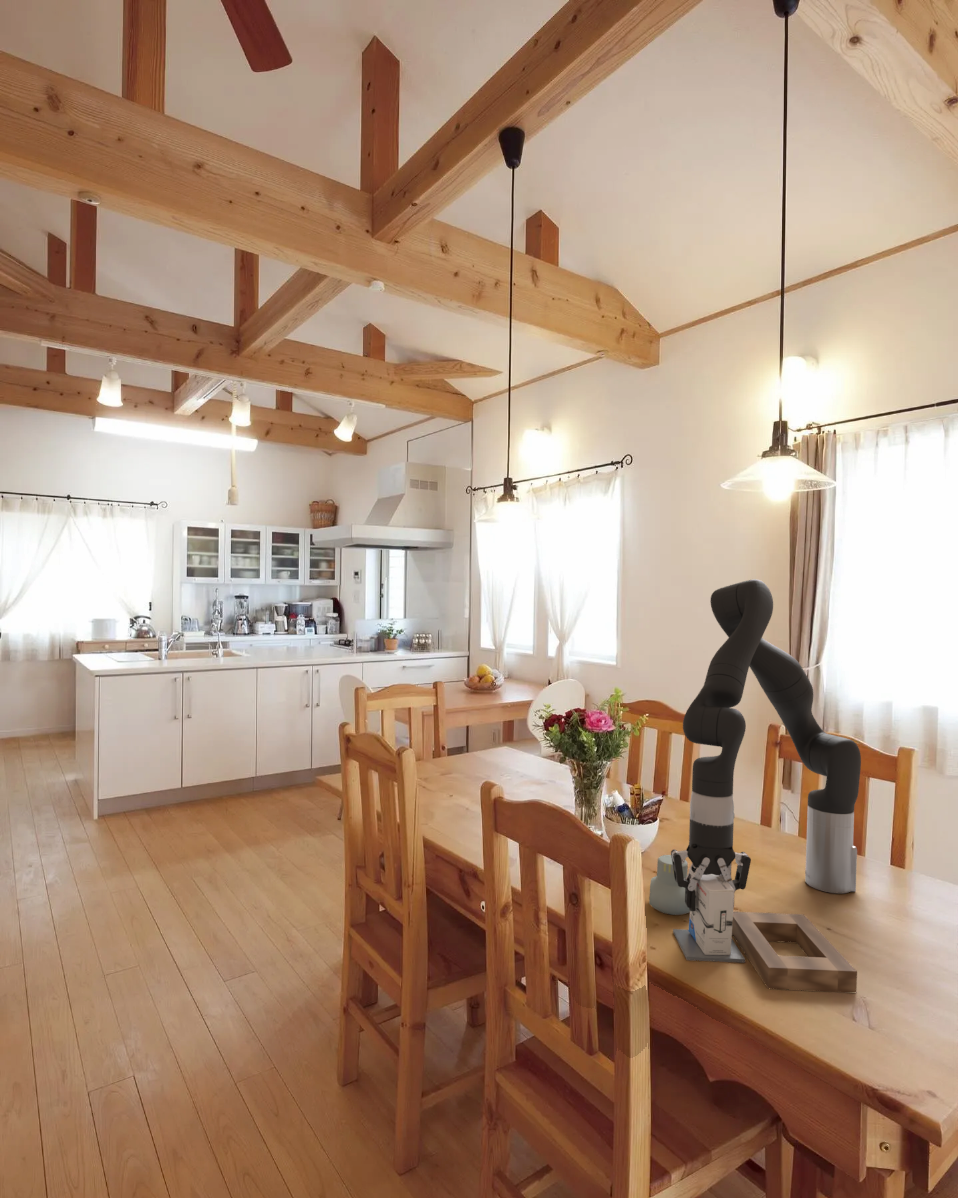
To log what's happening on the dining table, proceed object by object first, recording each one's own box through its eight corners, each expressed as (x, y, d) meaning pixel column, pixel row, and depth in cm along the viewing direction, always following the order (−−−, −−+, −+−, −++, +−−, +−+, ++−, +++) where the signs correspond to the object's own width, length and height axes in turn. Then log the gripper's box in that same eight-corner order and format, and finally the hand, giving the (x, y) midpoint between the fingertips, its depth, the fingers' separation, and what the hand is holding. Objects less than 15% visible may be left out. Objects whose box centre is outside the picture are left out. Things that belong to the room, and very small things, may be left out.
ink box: (687, 930, 131) (690, 868, 131) (713, 931, 131) (716, 869, 131) (704, 956, 123) (707, 889, 122) (732, 956, 123) (735, 890, 122)
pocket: (803, 932, 133) (804, 914, 133) (856, 993, 113) (857, 971, 113) (728, 929, 134) (729, 911, 134) (768, 989, 114) (768, 967, 114)
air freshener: (692, 924, 136) (693, 873, 135) (648, 917, 138) (649, 866, 138) (692, 901, 146) (694, 853, 146) (651, 895, 148) (653, 848, 148)
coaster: (726, 934, 132) (726, 931, 132) (745, 962, 122) (745, 959, 122) (673, 932, 132) (673, 929, 132) (686, 960, 122) (686, 956, 122)
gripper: (744, 812, 130) (742, 902, 130) (666, 809, 131) (664, 899, 131) (759, 825, 123) (756, 921, 123) (676, 822, 123) (673, 918, 123)
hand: (708, 909), depth 127 cm, fingers open, 5 cm apart
